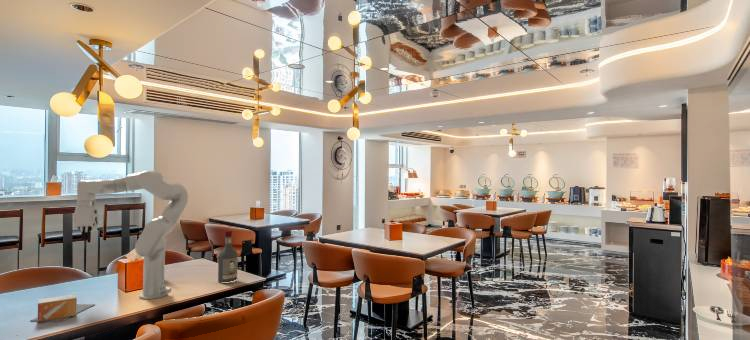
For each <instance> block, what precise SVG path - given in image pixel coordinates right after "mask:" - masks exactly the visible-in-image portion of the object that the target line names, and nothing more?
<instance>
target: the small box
mask: <svg viewBox="0 0 750 340" xmlns="http://www.w3.org/2000/svg"><path fill="white" fill-rule="evenodd" d="M77 298H78V297H77V293H76V294H68V295H60V296H55V297H48V298H47V297H46V298H41V299H40V298H39V299H38V303H37V317H38V319H37V321H36V322H37V323H40V322H48V321H47V320H53V319H59V318H65V317H70V318H72V317H76V316H77V314H76V307H77V303H78V300H77ZM71 316H72V317H71Z"/></svg>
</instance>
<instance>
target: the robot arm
mask: <svg viewBox="0 0 750 340" xmlns="http://www.w3.org/2000/svg"><path fill="white" fill-rule="evenodd" d="M76 186H77V191H76V195H77V196H76V207H75V209H74V213H73V225H74V226H73V227H74V229H76V230H77V229H78V230H79V231H80V233H81V240H82V241H88V240H90V235H91V233H90V232H91V231H92V230H93V229H97V228H98V225H99V223H100V218H99V217H100V216H99V209H98V206H96V205H98V201H96V195H97V196H98V195H99V196H100V195H101V196H102V195H109V194H110V195H111V194H117V193H122V192H133V191H139V190H145V191H147V192H149V193H150V194H151V195H152V196H154V197H156V198H158V199H160V200H163V201H169V202H168V203H167V204H166V205H165V207H164V209H163V211H162V212H161V214H160V215H159V216H158V217H155V218H153V219H151V220H150V221H148V223H147V224H146V225H145V227H144V228H143V230H142V232H141V234H140V235H139V237H138V239H137V241H136V243H135V245H134V246H135V247H134V250H135V253H136V254H137V255H138V256H140V257H144V258H143V265H142V266H143V269H142V270H143V271H142V272H143V274H142V276H143V277H142V292H141V293H139V298H140V299H144V300H151V299H159V298H162V297H165V296H166V295H167V294H168V293H171V292H172V287H167V285H166V284H165V263H166V262H165V260H166V250H167V240H166V237H165V236H166V235H169V234H170V233H172V231H173V230H174V229H175V227H176V225H177V223H178V221H179V219H180V217H181V215H182V214H183V212H184V210H185V208H186V206H187V204H188V201H189V194H188V191H187V189H186V188H185V186H183V185H182V184H181V183H177V182H169V183H167V182H166V181H164V176H163V175H162V173H161V172H159V171H157V170H143V171H141V172H137V173H131V174H128V175H126V176H125V177H121V178H114V179H113V178H112V179H96V180H93V179H85V180H84V179H79V180H78V182H77V185H76Z"/></svg>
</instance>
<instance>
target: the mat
mask: <svg viewBox="0 0 750 340" xmlns="http://www.w3.org/2000/svg"><path fill="white" fill-rule="evenodd" d="M95 305H96V304H93V303H92V304H89V303H88V304H86V303H80V304H77V307H76V315H78V314H80V313H81V312H84V311H86V310H88V309H90V308H92V307H94V306H95ZM77 313H78V314H77ZM67 318H68V319H70V318H69V317H65V318H59V319H53V320H47V321H46V322H52V321H60V322H61V321H62V322H63V320H64V321H65V319H66V320H68V319H67ZM37 319H38V316H37V317H35V318H33V319H30V322H37Z"/></svg>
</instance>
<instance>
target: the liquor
mask: <svg viewBox="0 0 750 340" xmlns="http://www.w3.org/2000/svg"><path fill="white" fill-rule="evenodd" d="M224 231H225V232H224V233H225V234H224V236H225V239H224V240H225V243H224V244H225V245H224V247H223V249H222V250H221V251H220V252H218V263H217V265H218V266H217V267H218V269H217V270H218V272H217V273H218V274H217V281H218V282H219V281H220V282H230V281H234V280H236V279H237V280H238V263H239V262H238V261H239V260H238V257H239V256H238V255H239V254H238V252H237V251H236V249H234V247H233V245H232V243H233V241H232V239H233V237H232V236H233V231H232V230H224ZM220 282H219V283H220Z"/></svg>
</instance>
